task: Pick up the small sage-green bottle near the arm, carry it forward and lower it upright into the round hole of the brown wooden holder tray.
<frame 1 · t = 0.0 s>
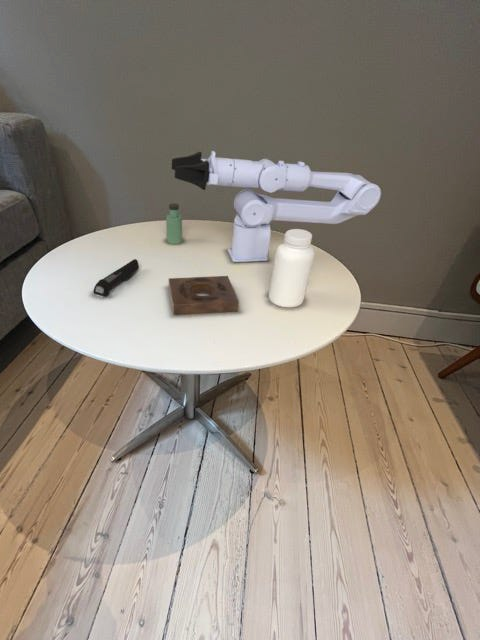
hand: (173, 168, 88), 22 cm above the table, tool horizontal, fingers open, 7 cm apart
pill bottle: (285, 300, 88), on the table
bottle: (174, 241, 112), on the table
electric trimmer: (117, 283, 93), on the table
brown wooden holder tray: (201, 299, 87), on the table
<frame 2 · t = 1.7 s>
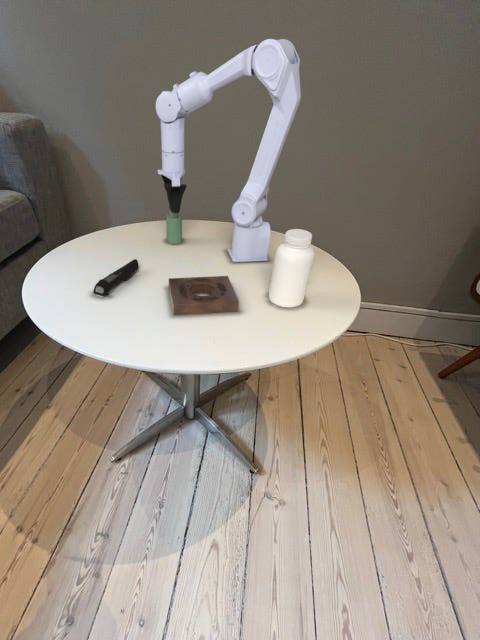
hand: (173, 207, 106), 9 cm above the table, tool pointing down, fingers open, 7 cm apart
nothing on the table moved.
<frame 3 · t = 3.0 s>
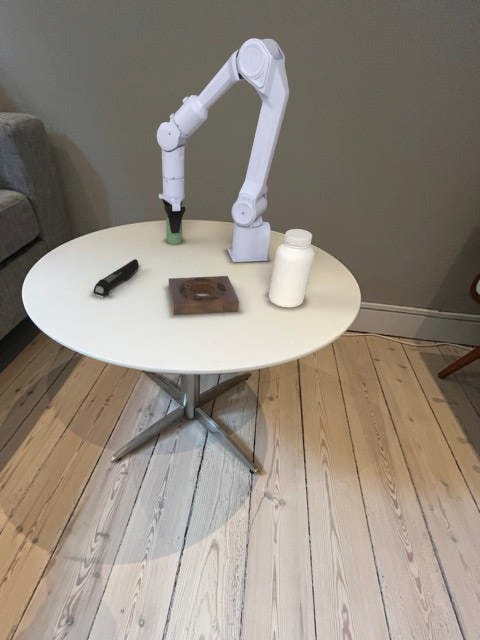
hand: (174, 229, 110), 3 cm above the table, tool pointing down, fingers closed on bottle, 4 cm apart
bottle: (174, 241, 112), on the table, touching gripper
everything else where it was.
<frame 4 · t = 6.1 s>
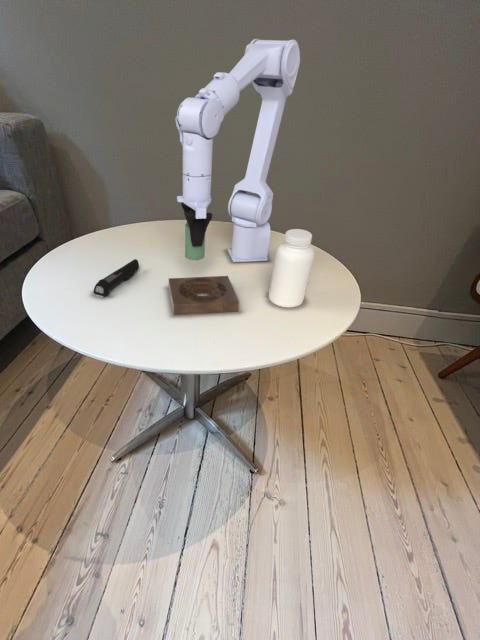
hand: (195, 241, 85), 10 cm above the table, tool pointing down, fingers closed on bottle, 4 cm apart
bottle: (194, 256, 88), point 7 cm above the table, touching gripper
everything else where it was.
when the fingers open (3 cm above the table, at t = 9.2 s): bottle stays where it is, resting in brown wooden holder tray.
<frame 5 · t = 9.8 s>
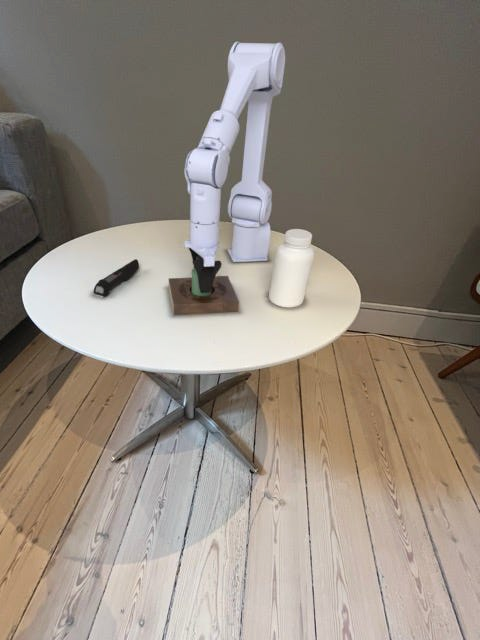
hand: (202, 283, 85), 4 cm above the table, tool pointing down, fingers open, 7 cm apart
bottle: (201, 299, 87), resting in brown wooden holder tray
everything else where it was.
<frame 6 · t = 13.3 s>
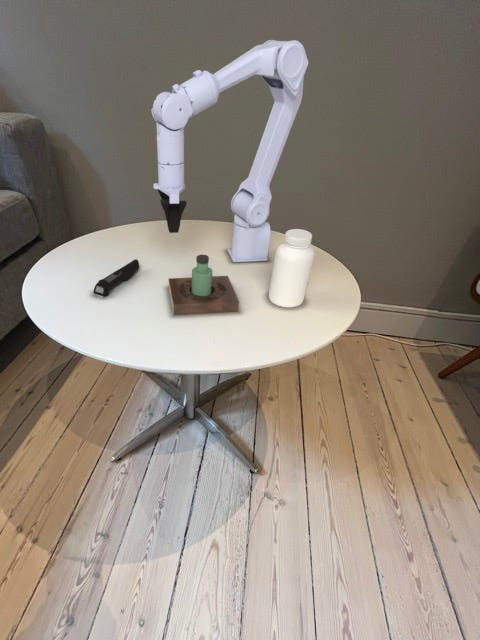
hand: (172, 226, 92), 10 cm above the table, tool pointing down, fingers open, 7 cm apart
nothing on the table moved.
at the end: bottle 0.2 cm off-centre in the brown wooden holder tray, point 0.0 cm above the brown wooden holder tray's base; bottle tilted 0° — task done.
